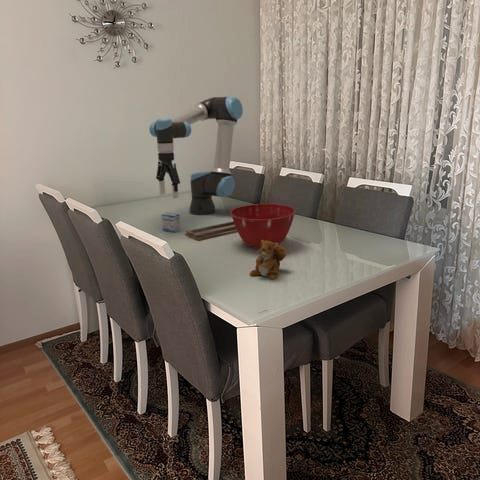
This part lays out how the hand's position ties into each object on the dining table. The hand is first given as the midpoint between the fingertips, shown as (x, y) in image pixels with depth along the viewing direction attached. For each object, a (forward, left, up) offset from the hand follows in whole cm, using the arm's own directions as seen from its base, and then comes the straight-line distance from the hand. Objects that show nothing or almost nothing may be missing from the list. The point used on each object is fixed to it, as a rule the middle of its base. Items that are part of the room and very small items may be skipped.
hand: (168, 196), depth 223 cm
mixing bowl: (+47, +21, -18) cm, 54 cm away
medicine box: (0, 0, -18) cm, 18 cm away
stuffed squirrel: (+76, +1, -18) cm, 78 cm away
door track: (+18, +16, -18) cm, 30 cm away
